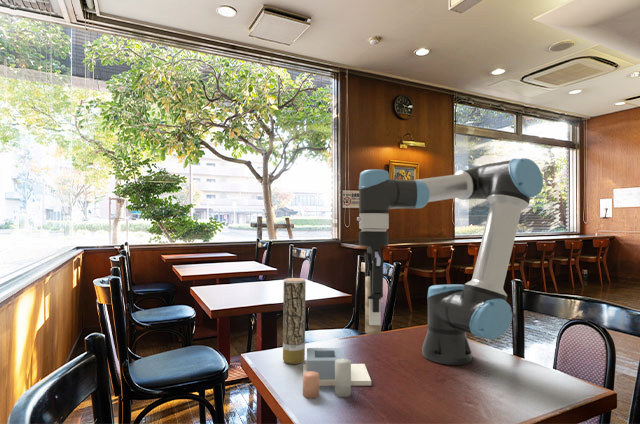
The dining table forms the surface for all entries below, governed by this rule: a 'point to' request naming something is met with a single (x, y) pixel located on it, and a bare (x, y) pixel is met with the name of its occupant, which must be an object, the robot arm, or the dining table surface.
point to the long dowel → (368, 328)
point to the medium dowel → (342, 377)
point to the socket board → (355, 376)
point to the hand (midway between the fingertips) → (373, 322)
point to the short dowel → (311, 384)
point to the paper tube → (294, 320)
